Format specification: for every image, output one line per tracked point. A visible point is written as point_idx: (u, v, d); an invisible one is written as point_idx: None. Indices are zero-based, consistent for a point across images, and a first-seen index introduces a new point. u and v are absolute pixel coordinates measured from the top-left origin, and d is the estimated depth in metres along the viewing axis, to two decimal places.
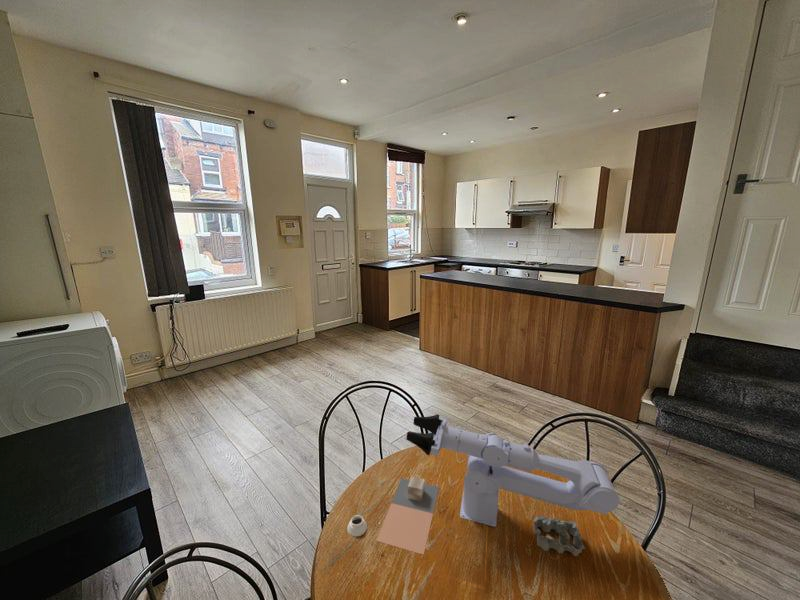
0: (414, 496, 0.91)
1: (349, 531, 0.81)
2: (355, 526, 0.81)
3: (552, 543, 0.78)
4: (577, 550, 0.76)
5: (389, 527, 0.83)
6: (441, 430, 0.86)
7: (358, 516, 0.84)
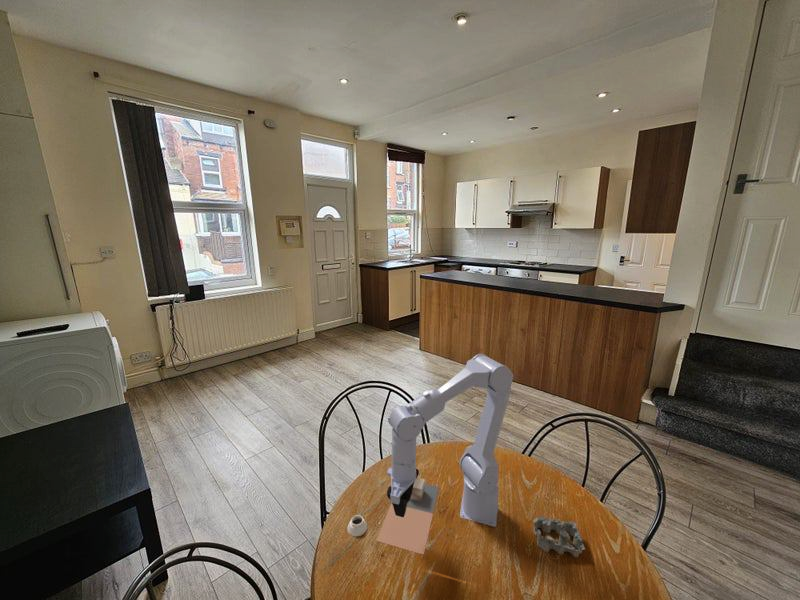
0: (414, 496, 0.91)
1: (349, 531, 0.81)
2: (355, 526, 0.81)
3: (552, 544, 0.78)
4: (577, 551, 0.76)
5: (389, 527, 0.83)
6: (391, 477, 0.76)
7: (358, 516, 0.84)
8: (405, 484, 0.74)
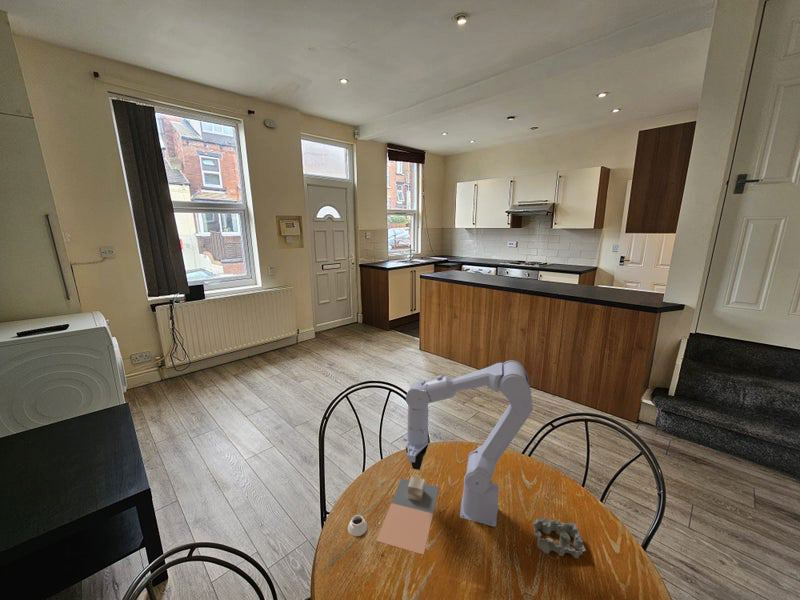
0: (414, 496, 0.91)
1: (350, 531, 0.81)
2: (356, 526, 0.81)
3: (553, 545, 0.77)
4: (578, 552, 0.75)
5: (389, 527, 0.83)
6: None
7: (358, 516, 0.84)
8: (419, 447, 0.87)
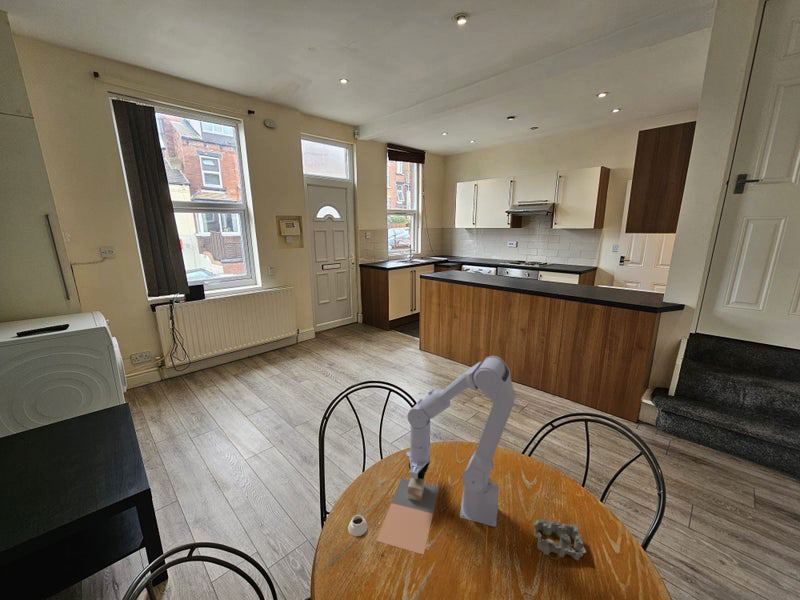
0: (414, 496, 0.91)
1: (350, 531, 0.81)
2: (356, 526, 0.81)
3: (553, 547, 0.77)
4: (578, 554, 0.75)
5: (389, 527, 0.83)
6: (409, 458, 0.94)
7: (359, 516, 0.84)
8: (421, 464, 0.92)
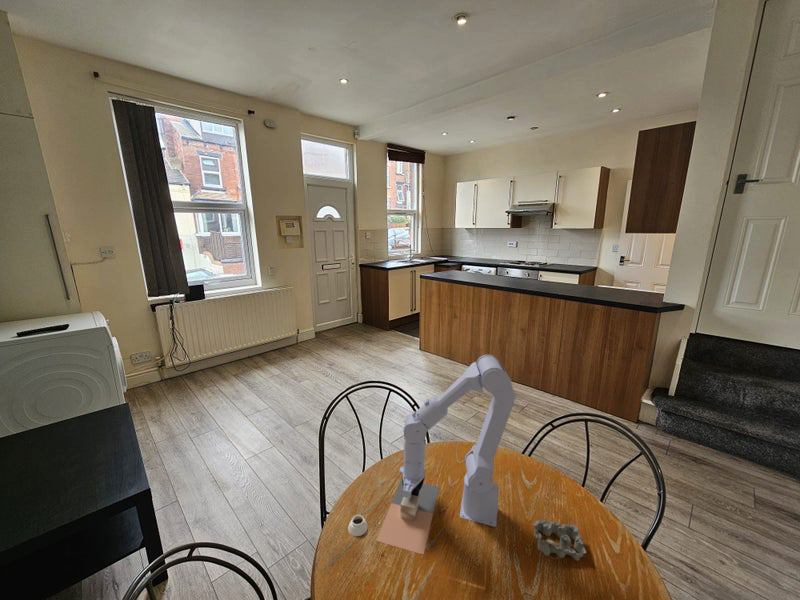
0: (407, 515, 0.85)
1: (350, 531, 0.81)
2: (356, 526, 0.81)
3: (553, 547, 0.77)
4: (578, 554, 0.75)
5: (389, 527, 0.83)
6: None
7: (359, 516, 0.84)
8: (415, 481, 0.85)
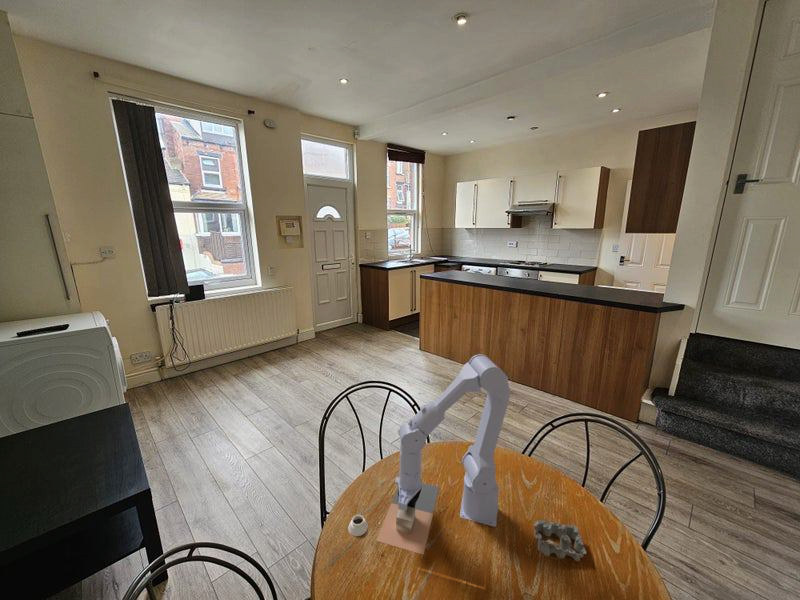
0: (403, 528, 0.81)
1: (350, 531, 0.81)
2: (356, 526, 0.81)
3: (553, 548, 0.77)
4: (579, 555, 0.75)
5: (389, 527, 0.83)
6: None
7: (359, 516, 0.84)
8: (411, 492, 0.81)
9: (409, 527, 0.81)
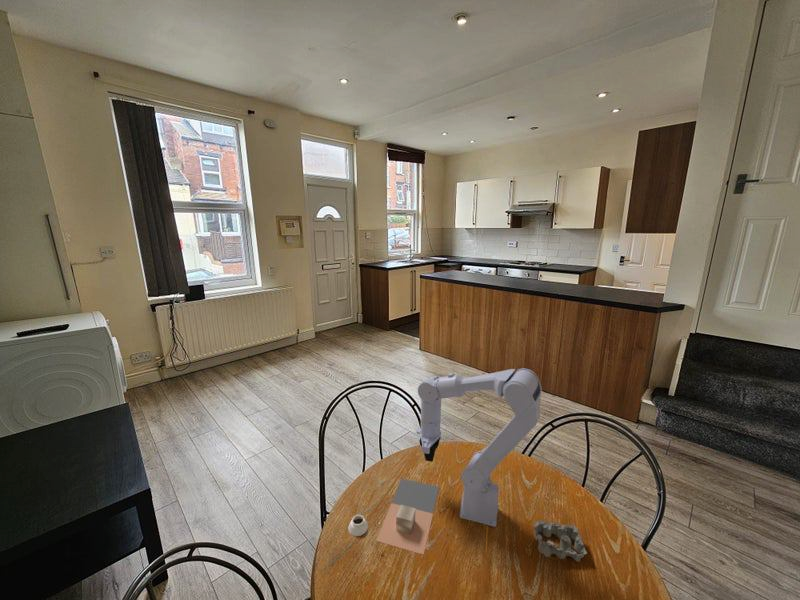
0: (403, 527, 0.81)
1: (350, 531, 0.81)
2: (356, 526, 0.81)
3: (554, 549, 0.77)
4: (579, 555, 0.75)
5: (389, 527, 0.83)
6: (420, 434, 0.93)
7: (359, 516, 0.84)
8: (432, 439, 0.90)
9: (409, 527, 0.81)
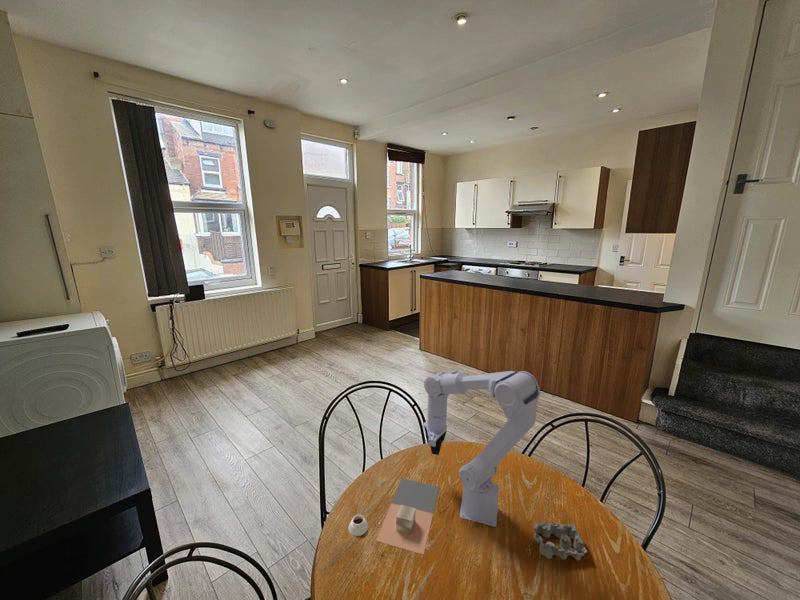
0: (403, 527, 0.81)
1: (350, 531, 0.81)
2: (356, 526, 0.81)
3: (555, 550, 0.76)
4: (580, 554, 0.75)
5: (389, 527, 0.83)
6: None
7: (359, 516, 0.84)
8: (439, 433, 0.93)
9: (409, 527, 0.81)
